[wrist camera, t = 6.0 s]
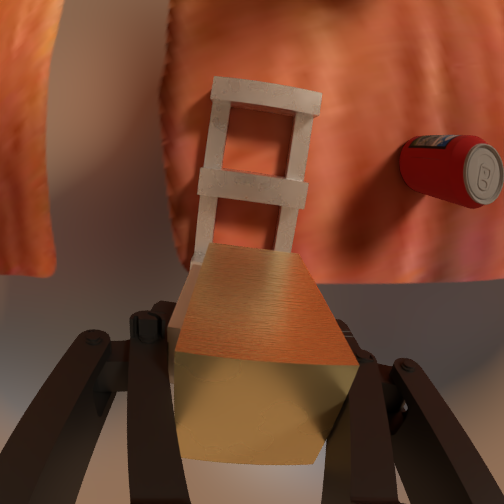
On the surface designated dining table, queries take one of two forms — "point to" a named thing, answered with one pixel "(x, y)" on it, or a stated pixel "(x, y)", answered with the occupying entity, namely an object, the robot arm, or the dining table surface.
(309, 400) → the brass block
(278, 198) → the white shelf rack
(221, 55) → the dining table surface
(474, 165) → the beverage can
